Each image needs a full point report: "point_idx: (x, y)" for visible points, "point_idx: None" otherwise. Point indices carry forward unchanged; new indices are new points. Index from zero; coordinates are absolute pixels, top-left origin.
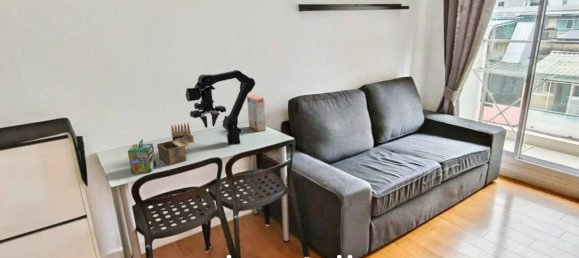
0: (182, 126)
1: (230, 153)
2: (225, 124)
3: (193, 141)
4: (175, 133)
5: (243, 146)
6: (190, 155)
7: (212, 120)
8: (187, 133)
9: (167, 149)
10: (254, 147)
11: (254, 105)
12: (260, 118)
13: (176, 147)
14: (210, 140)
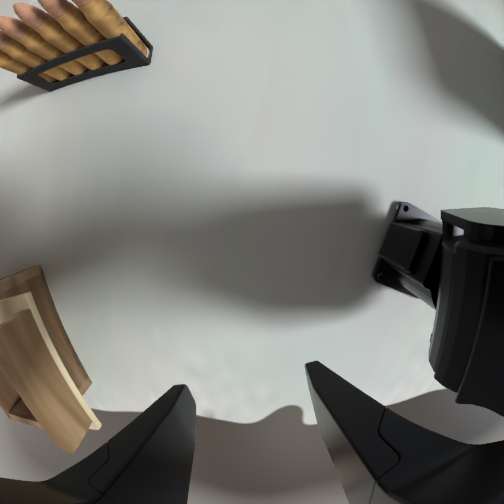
0: (30, 18)
1: (310, 413)
2: (466, 339)
3: (88, 425)
4: (18, 60)
5: (414, 347)
6: (102, 331)
7: (336, 436)
8: (16, 379)
9: (7, 413)
10: (434, 378)
11: None
12: None
13: (30, 423)
14: (285, 85)
